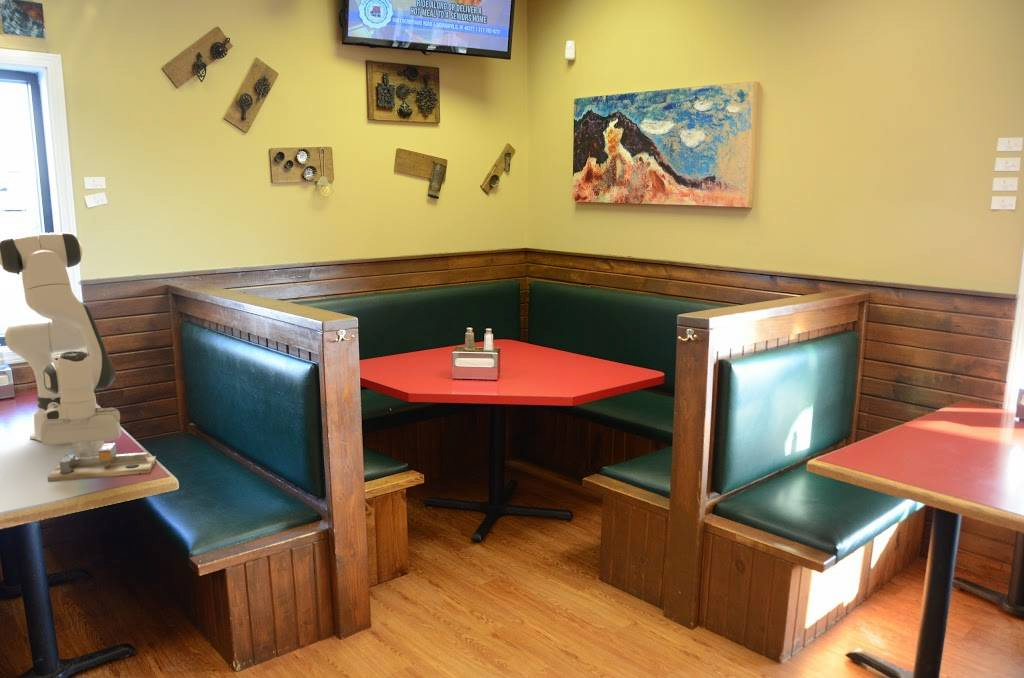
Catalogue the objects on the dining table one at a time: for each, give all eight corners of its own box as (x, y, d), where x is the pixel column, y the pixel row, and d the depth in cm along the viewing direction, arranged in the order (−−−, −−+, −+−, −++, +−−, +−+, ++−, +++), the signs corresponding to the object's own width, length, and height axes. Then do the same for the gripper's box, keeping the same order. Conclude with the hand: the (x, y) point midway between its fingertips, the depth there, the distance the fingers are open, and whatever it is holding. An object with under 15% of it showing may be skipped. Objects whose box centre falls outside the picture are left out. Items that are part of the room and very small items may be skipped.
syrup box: (99, 456, 248) (95, 409, 246) (78, 457, 247) (73, 410, 245) (105, 450, 254) (101, 404, 251) (85, 451, 253) (80, 405, 250)
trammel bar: (65, 465, 236) (64, 454, 235) (147, 458, 241) (146, 447, 241) (57, 474, 228) (56, 462, 228) (142, 467, 234) (141, 456, 233)
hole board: (59, 467, 238) (59, 463, 237) (156, 459, 244) (155, 456, 244) (47, 481, 226) (47, 477, 226) (149, 472, 233) (148, 468, 232)
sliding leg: (105, 462, 238) (104, 443, 237) (117, 461, 238) (115, 442, 237) (100, 469, 231) (98, 451, 230) (112, 468, 232) (110, 450, 231)
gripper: (121, 404, 236) (125, 450, 238) (42, 409, 231) (47, 456, 233) (116, 409, 230) (121, 456, 232) (35, 414, 225) (41, 463, 227)
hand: (83, 456), depth 233 cm, fingers closed
